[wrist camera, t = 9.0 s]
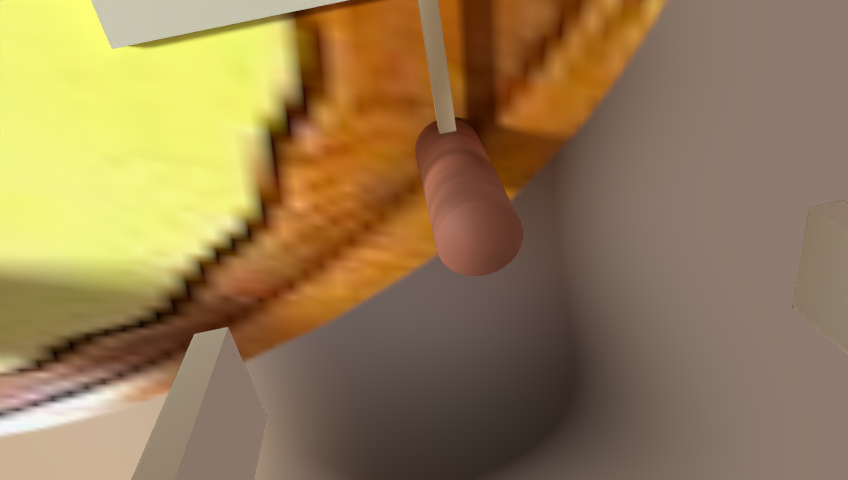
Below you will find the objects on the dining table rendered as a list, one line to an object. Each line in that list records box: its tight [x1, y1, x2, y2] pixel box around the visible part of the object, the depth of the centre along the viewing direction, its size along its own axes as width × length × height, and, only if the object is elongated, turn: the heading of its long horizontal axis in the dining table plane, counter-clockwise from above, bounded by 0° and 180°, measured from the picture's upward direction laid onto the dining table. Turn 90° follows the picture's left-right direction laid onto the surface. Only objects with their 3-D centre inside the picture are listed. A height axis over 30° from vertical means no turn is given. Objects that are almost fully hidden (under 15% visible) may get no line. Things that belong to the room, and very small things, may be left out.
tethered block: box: [415, 0, 523, 276], centre depth 21 cm, size 6×19×9 cm, turn 10°
